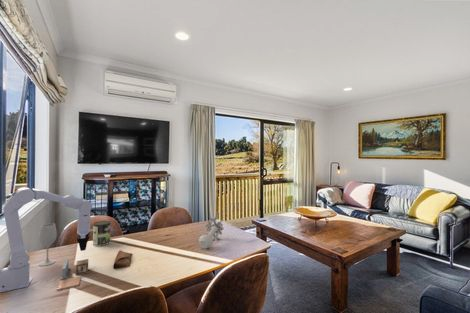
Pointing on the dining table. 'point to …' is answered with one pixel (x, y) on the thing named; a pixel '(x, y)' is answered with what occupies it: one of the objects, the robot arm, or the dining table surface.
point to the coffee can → (101, 233)
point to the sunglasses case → (122, 260)
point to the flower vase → (211, 234)
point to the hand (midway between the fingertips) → (83, 247)
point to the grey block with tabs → (65, 270)
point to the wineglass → (47, 239)
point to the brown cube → (82, 266)
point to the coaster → (68, 283)
